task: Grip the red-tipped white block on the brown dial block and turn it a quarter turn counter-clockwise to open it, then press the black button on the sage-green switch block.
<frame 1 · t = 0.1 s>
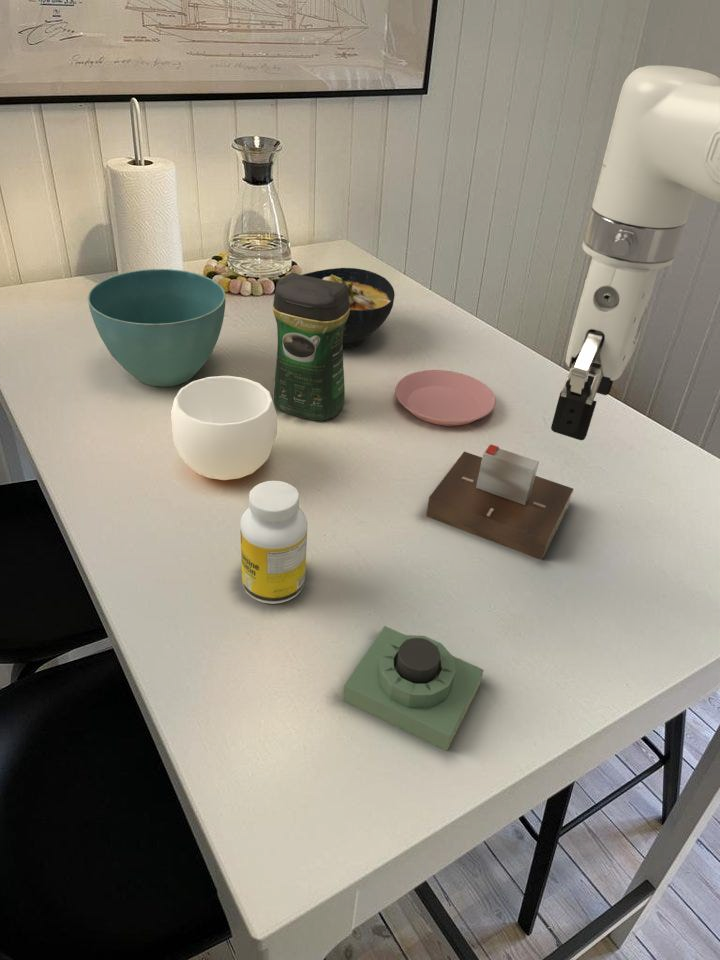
hand: (581, 411, 73), 19 cm above the table, tool pointing down, fingers open, 9 cm apart
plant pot: (165, 374, 110), on the table
cup: (226, 468, 93), on the table
coffee jar: (308, 407, 106), on the table
plate: (443, 407, 108), on the table
brown dial block: (498, 512, 89), on the table
button: (418, 660, 65), point 4 cm above the table, slide at 0.1 cm
bowl: (337, 339, 123), on the table
red-tipped white block: (507, 474, 86), point 6 cm above the table, hinge at 0.0°
switch block: (412, 692, 68), on the table
pill bottle: (273, 585, 77), on the table
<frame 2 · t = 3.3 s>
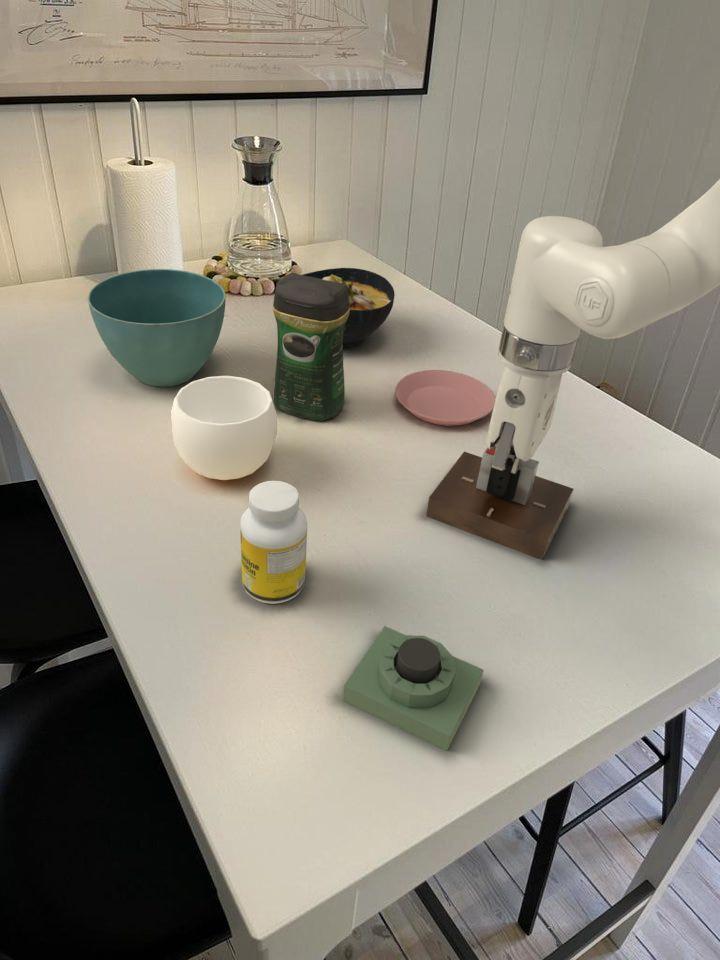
hand: (503, 488, 87), 4 cm above the table, tool pointing down, fingers closed on red-tipped white block, 2 cm apart
red-tipped white block: (507, 474, 86), point 6 cm above the table, hinge at 0.2°, touching gripper
everything else where it was.
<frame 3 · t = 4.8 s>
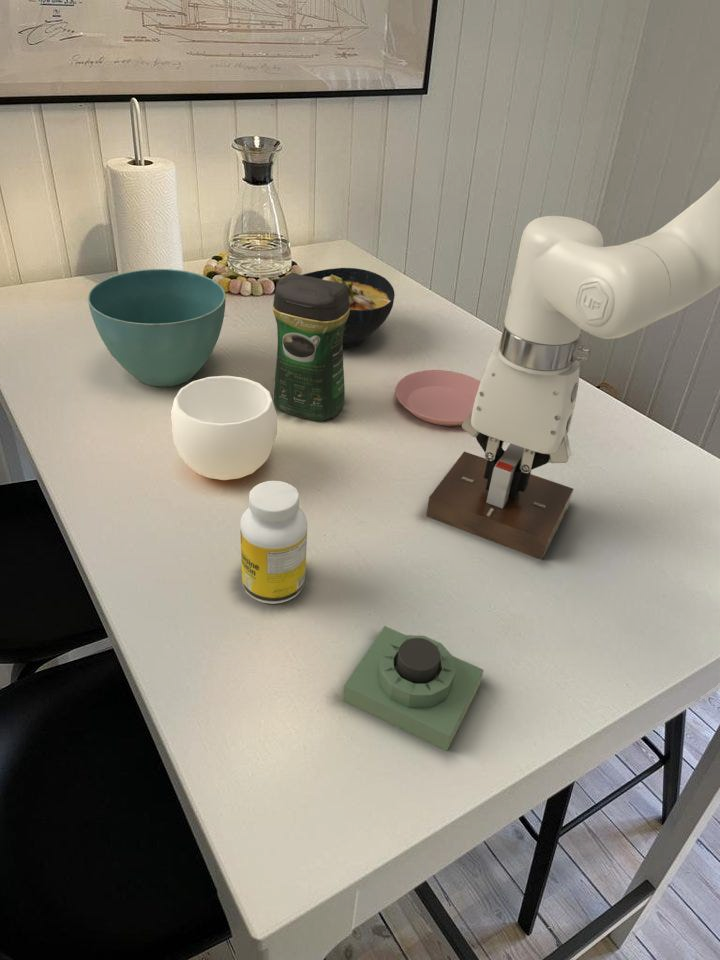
hand: (504, 487, 87), 4 cm above the table, tool pointing down, fingers closed on red-tipped white block, 2 cm apart
red-tipped white block: (507, 474, 86), point 6 cm above the table, hinge at 89.8°, touching gripper
everything else where it was.
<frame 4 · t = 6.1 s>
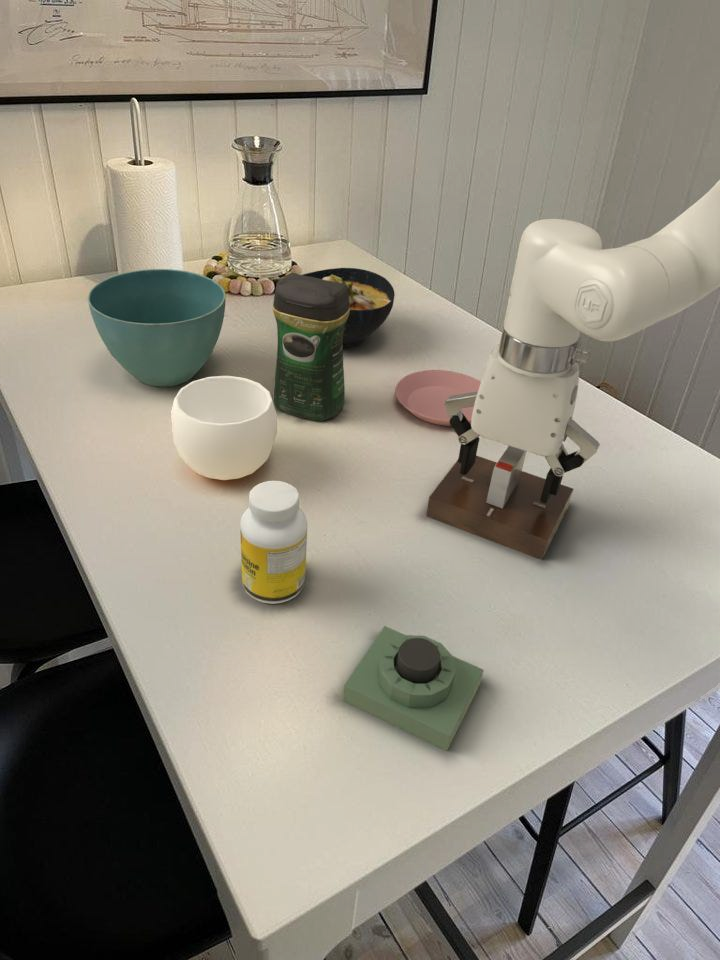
hand: (506, 482, 87), 5 cm above the table, tool pointing down, fingers open, 9 cm apart
red-tipped white block: (507, 474, 86), point 6 cm above the table, hinge at 89.8°
everything else where it was.
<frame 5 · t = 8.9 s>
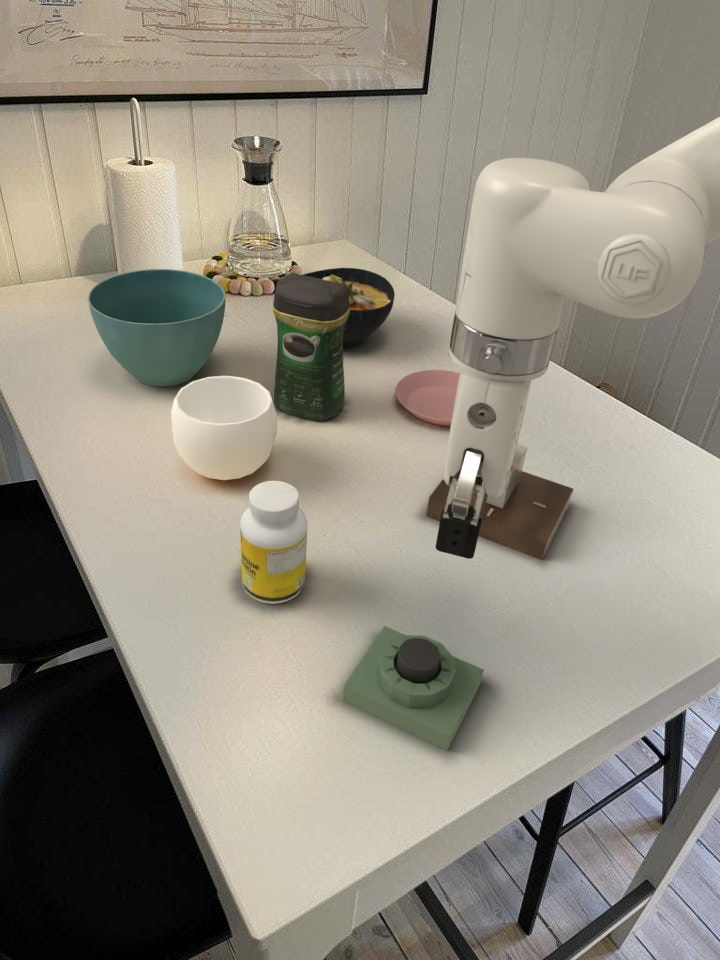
hand: (465, 517, 66), 14 cm above the table, tool pointing down, fingers open, 9 cm apart
nothing on the table moved.
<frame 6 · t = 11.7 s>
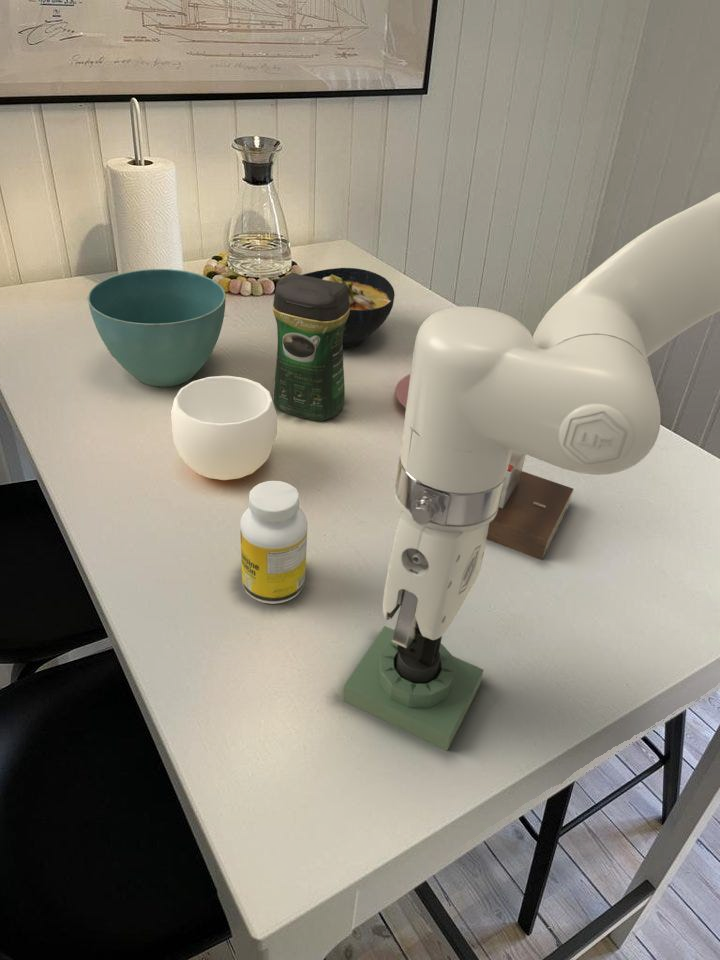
hand: (417, 652, 64), 5 cm above the table, tool pointing down, fingers closed
button: (418, 660, 65), point 4 cm above the table, slide at 0.1 cm, touching gripper
everything else where it was.
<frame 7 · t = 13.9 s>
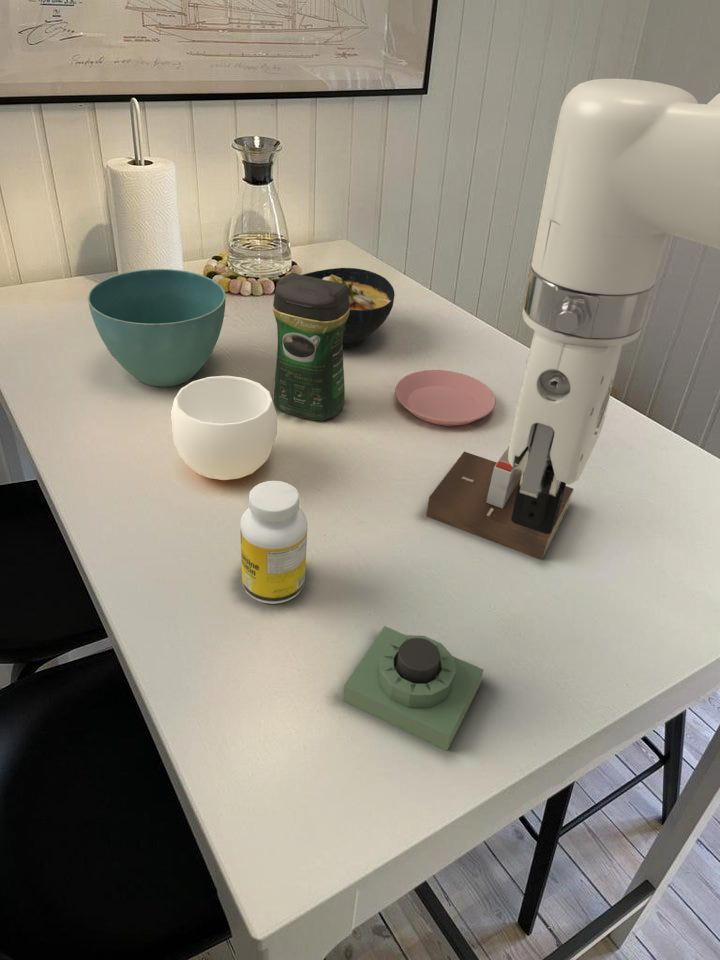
hand: (533, 522, 59), 19 cm above the table, tool pointing down, fingers closed
button: (418, 660, 65), point 4 cm above the table, slide at 0.1 cm
everything else where it was.
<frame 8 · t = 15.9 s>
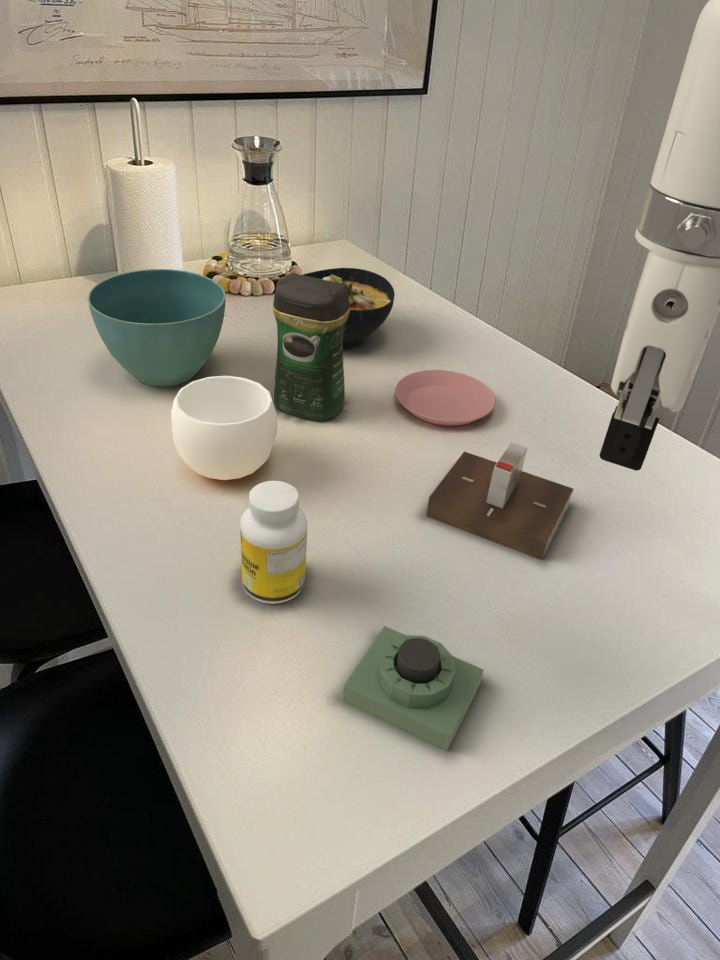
hand: (621, 459, 58), 23 cm above the table, tool pointing down, fingers closed
nothing on the table moved.
at the end: red-tipped white block at +90° (first picture: +0°); button pushed in 1.1 cm at the most during the clip, back to where it started at the end; button slide at 0.1 cm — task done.
